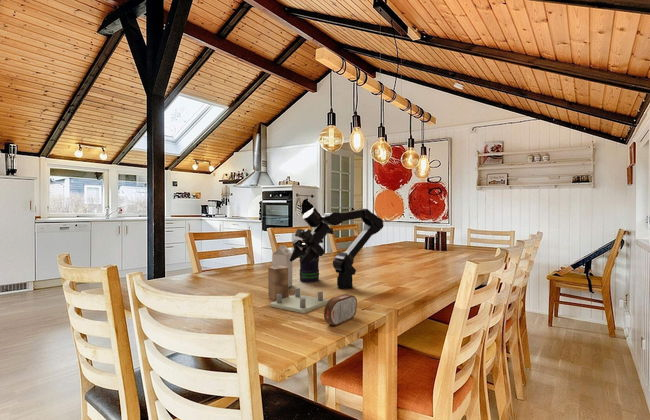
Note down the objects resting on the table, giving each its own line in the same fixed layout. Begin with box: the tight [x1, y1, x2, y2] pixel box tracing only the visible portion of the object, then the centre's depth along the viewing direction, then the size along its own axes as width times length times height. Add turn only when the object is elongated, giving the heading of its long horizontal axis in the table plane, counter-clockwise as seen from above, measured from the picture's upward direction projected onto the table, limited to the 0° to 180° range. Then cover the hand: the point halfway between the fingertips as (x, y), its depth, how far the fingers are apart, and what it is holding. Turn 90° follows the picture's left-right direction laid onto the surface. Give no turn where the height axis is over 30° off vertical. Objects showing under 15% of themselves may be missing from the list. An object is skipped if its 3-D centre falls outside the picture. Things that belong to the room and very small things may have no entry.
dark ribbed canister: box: [298, 250, 320, 283], centre depth 179 cm, size 10×10×15 cm
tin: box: [323, 293, 358, 326], centre depth 116 cm, size 15×3×8 cm, turn 141°
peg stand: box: [269, 287, 330, 314], centre depth 136 cm, size 16×16×4 cm
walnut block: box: [267, 266, 289, 302], centre depth 145 cm, size 6×6×12 cm
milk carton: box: [271, 244, 293, 288], centre depth 165 cm, size 7×7×19 cm
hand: (295, 262), depth 150 cm, fingers open, 9 cm apart
